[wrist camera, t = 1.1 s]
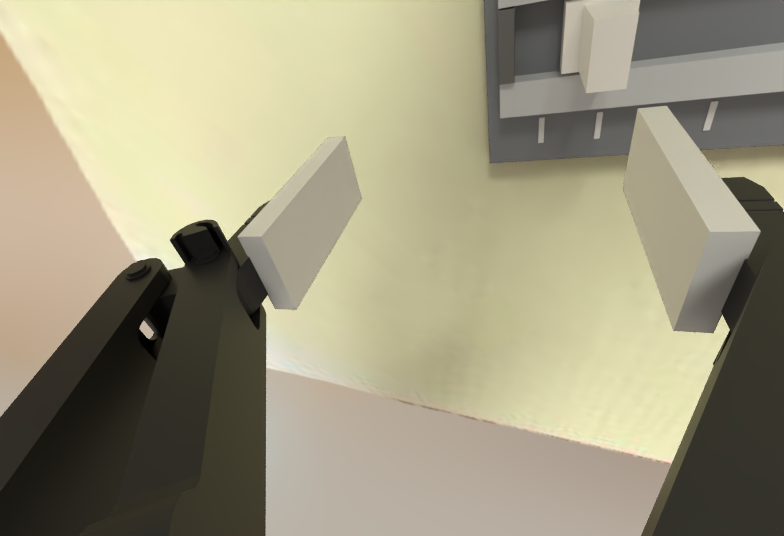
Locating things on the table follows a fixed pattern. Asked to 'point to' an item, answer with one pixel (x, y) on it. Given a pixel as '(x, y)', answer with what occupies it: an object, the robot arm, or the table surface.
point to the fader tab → (599, 42)
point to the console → (636, 79)
